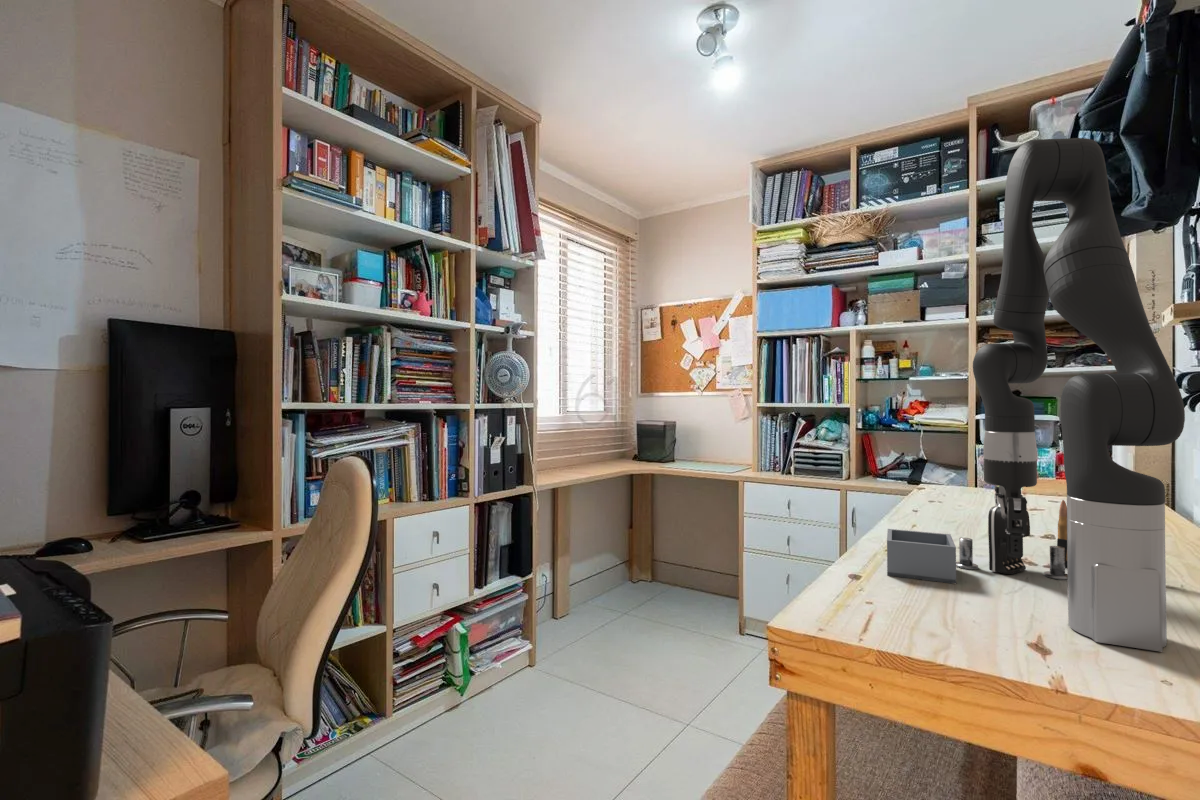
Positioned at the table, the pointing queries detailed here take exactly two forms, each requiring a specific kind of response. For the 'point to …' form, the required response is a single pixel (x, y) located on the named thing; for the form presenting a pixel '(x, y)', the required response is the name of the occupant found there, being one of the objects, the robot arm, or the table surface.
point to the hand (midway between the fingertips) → (1010, 551)
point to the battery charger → (1002, 544)
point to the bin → (921, 555)
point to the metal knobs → (1055, 572)
